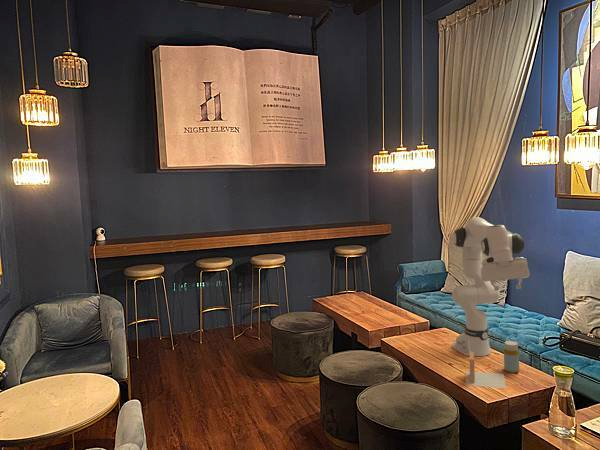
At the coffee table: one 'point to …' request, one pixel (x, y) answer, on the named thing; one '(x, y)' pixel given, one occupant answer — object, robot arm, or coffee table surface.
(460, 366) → the coffee table surface
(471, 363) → the tile
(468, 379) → the mat
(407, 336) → the coffee table surface
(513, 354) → the bottle
